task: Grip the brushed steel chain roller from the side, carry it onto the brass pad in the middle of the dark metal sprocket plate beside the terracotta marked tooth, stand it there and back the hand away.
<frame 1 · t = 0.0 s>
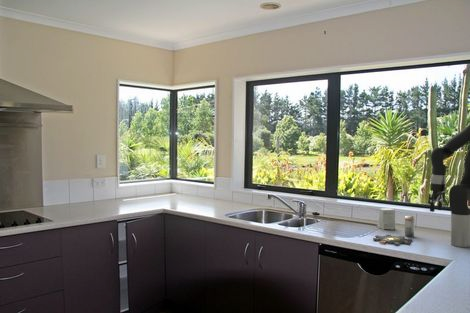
hand: (435, 210, 220), 17 cm above the worktop, tool pointing down, fingers open, 8 cm apart
small box: (386, 229, 252), on the worktop
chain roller: (409, 236, 231), on the worktop
sprocket plate: (392, 240, 221), on the worktop
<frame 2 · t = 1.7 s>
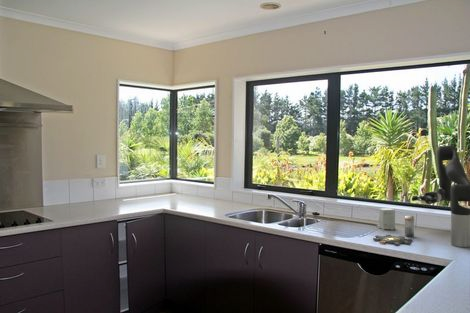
hand: (419, 200, 237), 21 cm above the worktop, tool horizontal, fingers open, 8 cm apart
nothing on the worktop moved.
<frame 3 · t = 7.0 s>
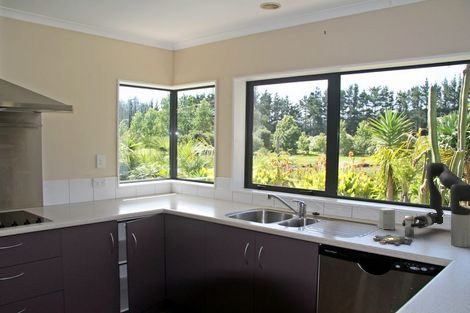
hand: (407, 225, 230), 7 cm above the worktop, tool horizontal, fingers closed on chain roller, 5 cm apart
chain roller: (409, 236, 231), on the worktop, touching gripper
everything else where it was.
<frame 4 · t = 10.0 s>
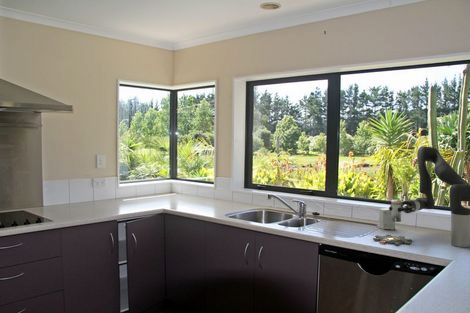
hand: (394, 209, 222), 18 cm above the worktop, tool horizontal, fingers closed on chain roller, 5 cm apart
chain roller: (396, 220, 223), point 11 cm above the worktop, touching gripper
everything else where it was.
when the fingers open (10 cm above the worktop, at t = 13.2 s): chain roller drops 1 cm, resting on sprocket plate.
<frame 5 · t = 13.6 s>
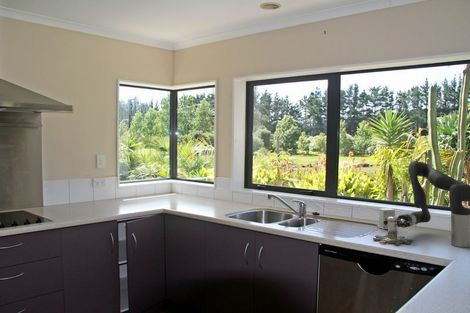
hand: (391, 223, 220), 10 cm above the worktop, tool horizontal, fingers open, 8 cm apart
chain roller: (392, 238, 221), point 2 cm above the worktop, touching sprocket plate
everything else where it was.
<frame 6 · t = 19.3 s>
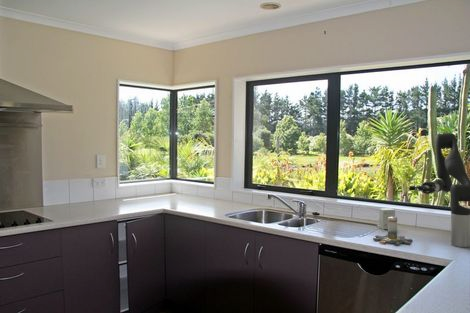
hand: (416, 189, 231), 28 cm above the worktop, tool horizontal, fingers open, 8 cm apart
nothing on the worktop moved.
at the end: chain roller 0.1 cm off-centre on the sprocket plate, point 1.5 cm above the sprocket plate's base; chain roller tilted 0°; the gripper is holding nothing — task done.
